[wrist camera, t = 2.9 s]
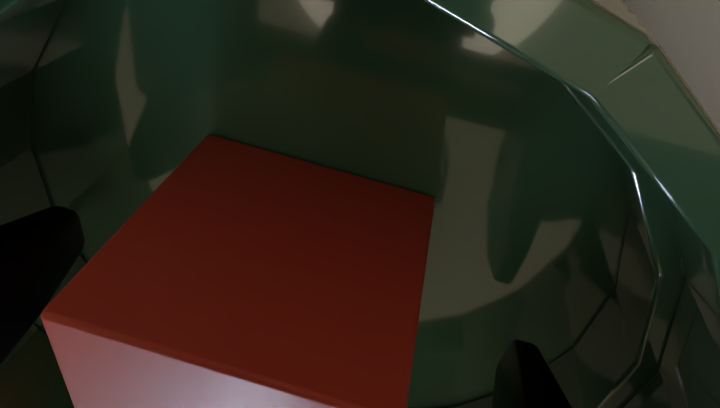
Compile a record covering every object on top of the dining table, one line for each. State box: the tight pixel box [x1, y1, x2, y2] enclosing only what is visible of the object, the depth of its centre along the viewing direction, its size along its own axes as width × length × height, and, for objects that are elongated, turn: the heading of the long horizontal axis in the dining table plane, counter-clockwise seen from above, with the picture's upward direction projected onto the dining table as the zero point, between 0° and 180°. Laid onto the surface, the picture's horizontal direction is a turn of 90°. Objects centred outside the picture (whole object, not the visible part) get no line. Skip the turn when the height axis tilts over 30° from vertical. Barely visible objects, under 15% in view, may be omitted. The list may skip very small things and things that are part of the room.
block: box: [41, 135, 435, 408], centre depth 9 cm, size 4×4×4 cm
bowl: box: [0, 0, 720, 408], centre depth 9 cm, size 14×14×4 cm
